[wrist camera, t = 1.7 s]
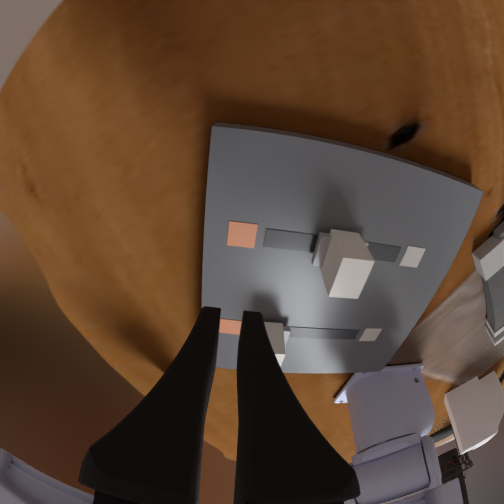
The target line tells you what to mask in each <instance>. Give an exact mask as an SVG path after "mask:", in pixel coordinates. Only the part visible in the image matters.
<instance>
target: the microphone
mask: <svg viewBox="0 0 504 504" xmlns="http://www.w3.org/2000/svg"><path fill="white" fill-rule="evenodd" d="M453 433H454V431H453V428H452V426H449V427H447V428H445V429H443V430H440V431H439V432H437V433H435V434H433V435H432V436H430V437H432V439H433V442H434V443H435V442H438V441H440V440H442V439H444V438H446V437H448V436H450V435H451V434H453ZM454 437H455V434H454ZM455 440H456V438H455ZM456 444H457V441H456ZM457 447H458V445H457ZM458 451H459V448H458ZM464 455H465V459H466V461H465V460H464V456H463V454H461V455H460V452H459V455H458V452H457V449H456V448H455V449H452V450H450V451H448V452H446V453H443V454H442V455H440V456H438V461H439V465H440V470H441V475H442V478H441V480H442V484H444V483H447V482H449V481H451V480H453V479H455V478H459V483H460V488H461V493H462V499H463V504H469V501H468V496H467V490H466V485H465V481H464V479H465V476H463V471H465V470H467V469H468V468H470V467H472V465H473V463H472V461H471V460H470V459H469V456H468V452H465V453H464ZM459 458H460V459H461V463H460V459H459Z"/></svg>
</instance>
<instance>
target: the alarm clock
mask: <svg viewBox="0 0 504 504" xmlns="http://www.w3.org/2000/svg"><path fill="white" fill-rule="evenodd" d="M472 255H473V259H474V264H475V268H476V270H477V271H478V272H479V274H480V275H481V278H482V282H483V286H484V291H485V296H486V303H487V318H486V325H485V329H486V331H487V333H488V335H489V336H490V338H491V340H492V342H493V344H494V346H496V345H497V344H498V343H500V342H501V341H502V340H503V339H504V221H503V222H502V223H501V224H500V225H499V226H497V227H496V228H495V229H494V230H493V235H492V236H491V237H490V238H489V239H488V240H487V241H485V242H484V243H483V244H482V245H481V246H479V247H478V248H477V249H476V250H475V251H473V252H472Z"/></svg>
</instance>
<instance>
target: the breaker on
mask: <svg viewBox="0 0 504 504" xmlns="http://www.w3.org/2000/svg"><path fill="white" fill-rule="evenodd" d="M264 324H265V328H266V331H267V334H268V337H269V340H270V343H271V346H272V348H273V351H274V353H275V356H276V358H277V360H278V363H279V365H280V367H281V365H282V362H283V360H284V357H285V355H286V353H285V346H286V343H287V340H288V338H289V335H290V332H291V331H290V326H283V323H273V322H264Z"/></svg>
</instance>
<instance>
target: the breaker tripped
mask: <svg viewBox="0 0 504 504" xmlns="http://www.w3.org/2000/svg"><path fill="white" fill-rule="evenodd" d="M368 244H369V243H368V241H367V239H364V238H361V236H360V234H359V233H355V232H348V231H341V230H335V229H331V230H330V233H323V232H320V233H319V236H318V240H317V243H316V247H315V250H314V253H313V257H312V260H311V261H312V265H313V266H320V269H321V273H322V276H323V280H324V283H325V287H326V290H327V294H328V297H338V298H352V299H358V297H359V295H360V293H361V291H362V289H363V287H364V285H365V282H366V280H367V278H368V276H369V273H370V271H371V269H372V267H373V264H374V262H375V261H374V259H373V257H372V255H371V253H370V252H369V250H368V248H367V247H368Z"/></svg>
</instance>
